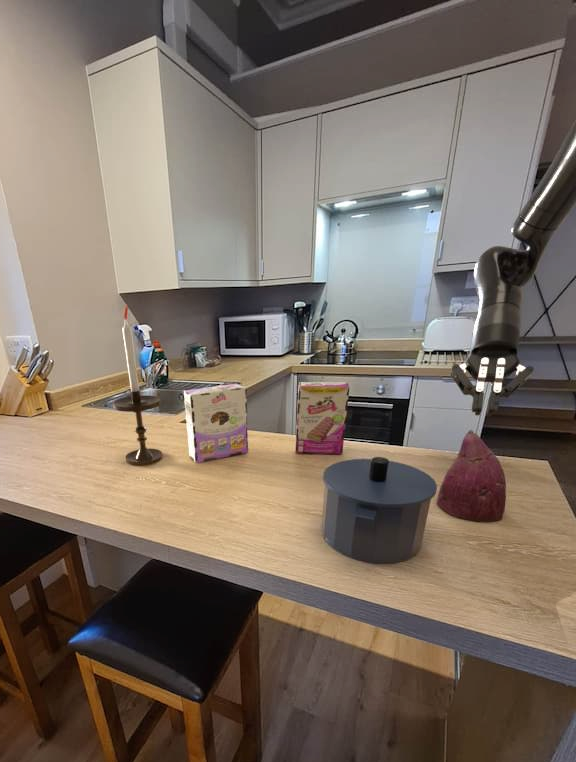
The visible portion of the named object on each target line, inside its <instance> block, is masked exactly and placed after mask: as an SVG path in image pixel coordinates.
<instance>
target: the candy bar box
mask: <svg viewBox="0 0 576 762" xmlns="http://www.w3.org/2000/svg"><path fill="white" fill-rule="evenodd" d="M297 391H298V392H297V393H298V394H297V411H296V427H295V429H296V430H295V454H311V455H314V454H315V455H343V449H344V442H345V433H346V424H347V423H346V422H347V414H348V406H349V404H348V403H349V397H350V385H349V383H348V382H347V381H306V382H305V381H300V382H298V389H297Z"/></svg>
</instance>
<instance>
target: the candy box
mask: <svg viewBox="0 0 576 762" xmlns="http://www.w3.org/2000/svg"><path fill="white" fill-rule="evenodd" d="M247 400H248V399H247V386H244V385H243V384H239V383H230V384H222V385H216V386H209V387H200V388H194V389H186V390H183V401H184V412H185V425H186V434H187V435H186V436H187V447H188V455H189V457H190V458H191V459H192V461H193V462H194V463H195V464H199V463H204V462H207V461H213V460H214V461H215V460H218V459H223V458H228V457H233V456H238V455H243V454H247V453H249V437H248V433H249V432H248V405H247V404H248V403H247Z"/></svg>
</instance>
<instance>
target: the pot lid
mask: <svg viewBox="0 0 576 762" xmlns="http://www.w3.org/2000/svg"><path fill="white" fill-rule="evenodd" d="M322 482H323V484H324V486H325V485H326V487H327V488H328V489H329V490H331V491H332V492H333V493H335V494H337V495H339V496H341V497H343V498H345V499H348V500H351V501H354V502H357V503H361V504H366V505H372V506H379V507H408V506H414V505H418V504H422V503H424V502H427V501H428V500H430V499H431V500H432V498H434V497H435V495H436V494H437V489H438V485H437V483H436V481H435V479H434V478H433V477H432V476H430V475H429V473H426V472H424V471H423V470H421V469H419V468H417V467H414V466H412V465H408V464H405V463H402V462H398V461H394V460H393V461H391V460H389V459H388V458H386V457H384V456H383V457H382V456H374V457H372V458H354V459H347V460H341V461H338V462H335V463H333V464H331V465H329V466H328V467H326V468H325V470H324V471H323V473H322Z"/></svg>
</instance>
